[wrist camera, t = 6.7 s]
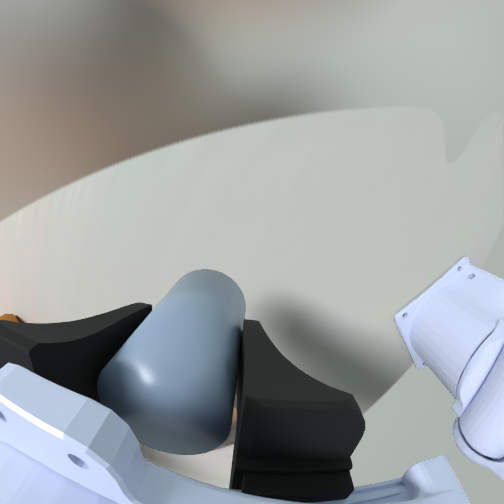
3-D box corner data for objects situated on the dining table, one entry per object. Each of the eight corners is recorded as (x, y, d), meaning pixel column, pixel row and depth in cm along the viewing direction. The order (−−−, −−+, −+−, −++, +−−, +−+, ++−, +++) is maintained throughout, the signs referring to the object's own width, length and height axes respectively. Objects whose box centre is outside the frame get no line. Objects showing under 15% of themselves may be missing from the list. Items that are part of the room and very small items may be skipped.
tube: (214, 253, 14) (159, 331, 6) (261, 315, 14) (261, 433, 6) (156, 295, 14) (75, 384, 6) (202, 350, 15) (163, 463, 7)
